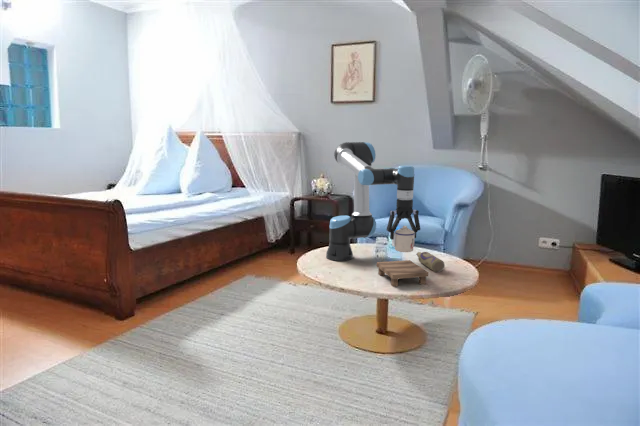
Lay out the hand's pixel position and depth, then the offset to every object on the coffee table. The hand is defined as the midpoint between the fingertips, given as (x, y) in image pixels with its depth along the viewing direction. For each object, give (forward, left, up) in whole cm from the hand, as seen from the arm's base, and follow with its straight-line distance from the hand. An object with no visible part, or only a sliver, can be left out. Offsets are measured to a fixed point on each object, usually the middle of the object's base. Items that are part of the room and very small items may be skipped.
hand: (402, 245), depth 206 cm
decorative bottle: (-18, +24, -17) cm, 35 cm away
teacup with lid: (0, 0, -2) cm, 2 cm away
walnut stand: (0, 0, -17) cm, 17 cm away
